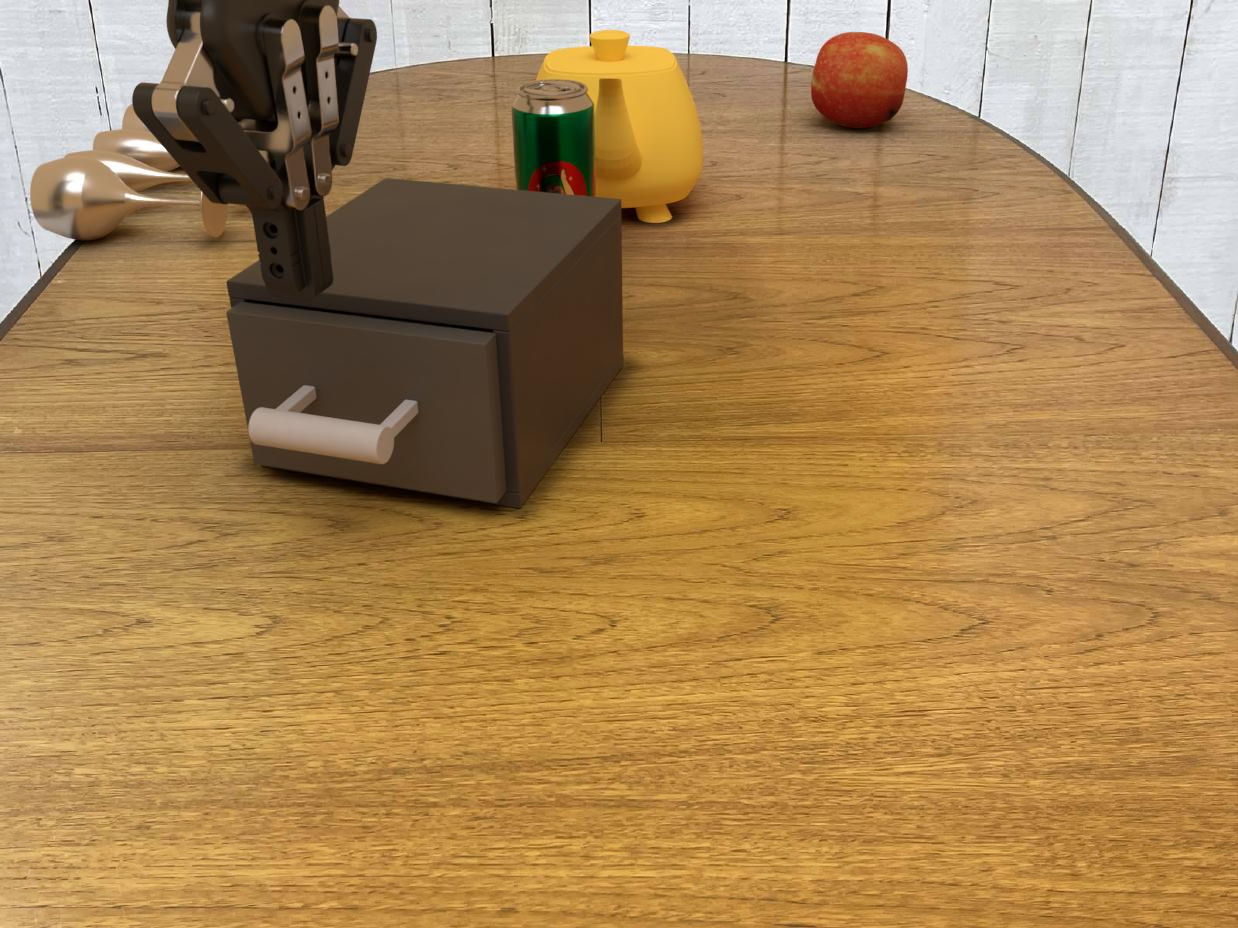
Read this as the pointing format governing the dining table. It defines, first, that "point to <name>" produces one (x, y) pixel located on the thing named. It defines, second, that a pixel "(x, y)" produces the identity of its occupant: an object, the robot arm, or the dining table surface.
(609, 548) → the dining table surface
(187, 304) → the dining table surface
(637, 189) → the teapot
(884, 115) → the apple
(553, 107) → the soda can
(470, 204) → the cabinet
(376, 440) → the drawer
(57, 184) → the goblet set
